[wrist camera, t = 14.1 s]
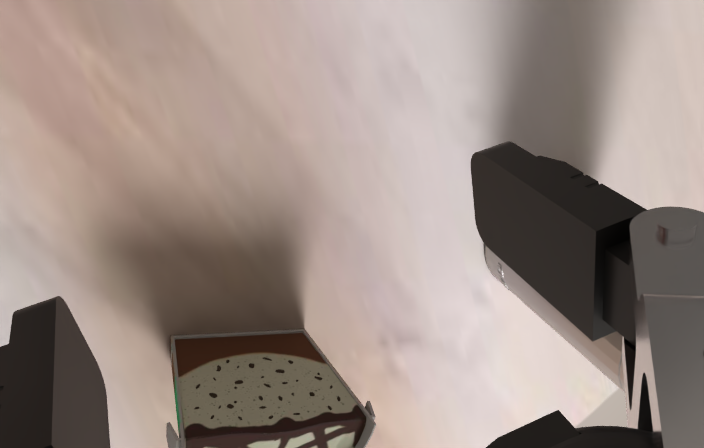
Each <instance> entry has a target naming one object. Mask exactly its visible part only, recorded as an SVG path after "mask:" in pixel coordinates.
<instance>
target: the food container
mask: <svg viewBox="0 0 704 448" xmlns="http://www.w3.org/2000/svg"><path fill="white" fill-rule="evenodd" d="M170 354H171V364H172V373H173V383H174V392H175V402H176V411H177V421H178V430H179V438H178V436H177V434H176V433H175V431H174V429H173V427H172V426H171V424H170V422H169V423H167V435H166V436H167V442H168V447H169V448H365V447H366V445H367V443H368V442H369V440H370V438H371V436H372V434H373V431H374V429H375V426H376V423H375V422H374V419H375V414H374V412H373V409H372V406H371V403H370V401H367V403H366V406H365V408H364V406H363V405H362V404H361V402H360V401H359V400H358V398H357V397H356V396H355V394H354V393H353V392H352V391H351V389H350V388H349V387H348V385H347V384H346V383H345V381H344V380H343V379H342V377H341V376H340V375H339V373H338V372H337V371H336V370H335V368H334V367H333V366H332V364H331V363H330V362H329V360H328V359H327V358H326V356H325V355H324V354H323V352H322V351H321V350H320V349H319V347H318V346H317V345H316V343H315V342H314V341H313V339H312V338H311V337H310V335H309V334H308V333H307V332H306V330H305V329H296V330H276V331H256V332H236V333H216V334H196V335H175V336H170Z"/></svg>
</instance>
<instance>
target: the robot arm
mask: <svg viewBox="0 0 704 448" xmlns="http://www.w3.org/2000/svg"><path fill="white" fill-rule="evenodd" d="M471 174H472V186H473V197H474V209H475V220H476V225H477V229H478V232H479V234H480V236H481V238H482V240H483V242H484V243H485V245H486V246H485V258H486V262H487V266H488V268H489V270H490V271H491V273H492V275H494V276H495V277H496V278H497V279H498V280H499V281H500V282H501V283H502V284H503V285H504V286H505V287H506V288H507V289H508V290H510V291H511V292H512V293H513V294H515V295H516V296H517V297H518V298H519V299H520V300H521V301H522V302H523V303H524V304H525V305H527V306H528V307H529V308H530V309H531V310H532V311H533V312H534V313H536V314H537V315H538V316H539V317H540V318H541V319H542V320H543V321H545V322H546V323H547V324H548V325H549V326H550V327H551V328H553V329H554V330H555V331H556V332H557V333H558V334H559V335H560V336H562V337H563V338H564V339H565V340H566V341H567V342H568V343H569V344H571V345H572V346H573V347H574V348H575V349H576V350H577V351H579V352H580V353H581V354H582V355H583V356H584V357H585V358H586V359H588V360H589V361H590V362H591V363H592V364H593V365H594V366H595V367H597V368H598V369H599V370H600V371H601V372H602V373H603V374H604V375H606V376H607V377H608V378H609V379H610V380H611V381H612V382H614V383H615V384H616V385H617V386H618V387H619V388H620V389H621V390H623V391H624V392H625V399H626V411H627V423H628V428H627V427H618V426H593V427H581V428H574V427H573V426H572V425H571V423H570V422H569V421H568V420H567V419H566V418H565V417H564V416H563V415H562V414H561V412H560V411H559V410H557V411H555V412H553V413H551V414H548V415H546V416H544V417H542V418H540V419H538V420H535V421H533V422H531V423H529V424H527V425H525V426H522V427H520V428H518V429H516V430H514V431H512V432H509V433H507V434H505V435H503V436H501V437H499V438H497V439H496V440H495V441H493V442H492V443H491V444H490V445H488V446H487V447H486V448H704V213H703V212H701V211H697V210H694V209H689V208H683V207H660V208H654V209H650V210H646V209H645V208H643V207H641V206H639V205H638V204H636V203H634V202H633V201H631V200H629V199H627V198H626V197H624V196H622V195H620V194H619V193H617V192H615V191H614V190H612V189H610V188H608V187H607V186H605V185H603V184H600V185H599V183H598V181H596V180H595V179H593V178H591V177H590V176H588V175H585V176H584V175H583V172H581V171H579V170H578V169H576V168H574V167H572V166H571V165H569V164H567V163H566V162H563V161H559V160H555V159H551V158H547V157H543V156H538V157H536V156H534V155H532V154H531V153H529V152H527V151H526V150H524V149H522V148H521V147H519V146H518V145H516V144H514V143H512V142H505V143H502V144H499V145H496V146H493V147H490V148H488V149H485V150H482V151H479V152H476V153H474V154H473V156H472V159H471ZM0 448H110V438H109V424H108V409H107V395H106V389H105V384H104V380H103V377H102V374H101V371H100V369H99V366H98V364H97V362H96V359H95V358H94V356H93V354H92V352H91V350H90V348H89V346H88V344H87V342H86V340H85V338H84V336H83V335H82V333H81V331H80V329H79V327H78V325H77V323H76V321H75V319H74V317H73V315H72V313H71V312H70V310H69V308H68V306H67V304H66V303H65V301H64V300H63V299H62V298H61V297H60V296H57V297H54V298H52V299H49V300H46V301H43V302H40V303H37V304H34V305H31V306H29V307H26V308H23V309H20V310H17V311H15V312H14V313H13V317H12V325H11V332H10V340H9V344H7V345H4V346H2V347H0Z"/></svg>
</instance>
